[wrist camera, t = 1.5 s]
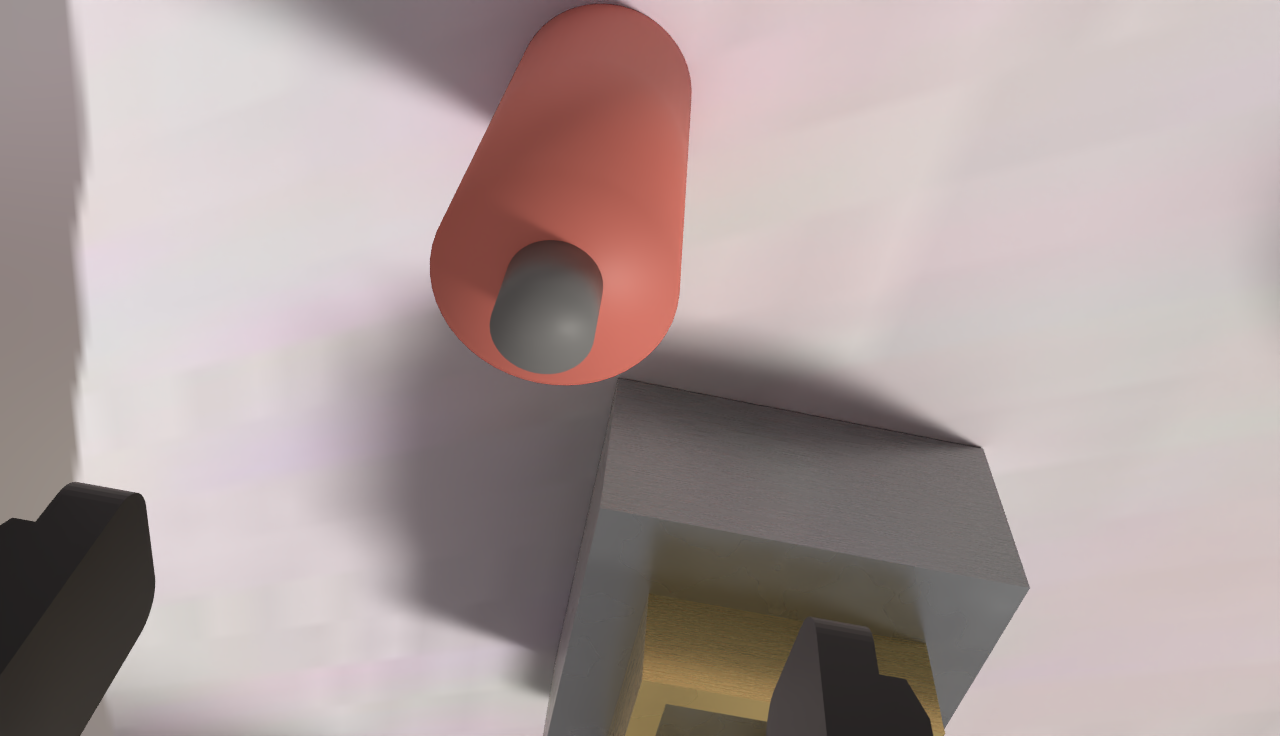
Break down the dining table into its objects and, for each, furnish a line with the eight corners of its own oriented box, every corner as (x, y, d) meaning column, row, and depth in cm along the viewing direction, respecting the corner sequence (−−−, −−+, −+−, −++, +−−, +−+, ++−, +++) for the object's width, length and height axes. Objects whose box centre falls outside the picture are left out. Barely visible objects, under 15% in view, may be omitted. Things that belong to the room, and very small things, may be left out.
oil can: (529, -14, 25) (416, 182, 16) (708, 24, 26) (704, 240, 16) (508, 155, 28) (400, 409, 18) (671, 188, 28) (648, 457, 19)
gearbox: (618, 377, 32) (588, 592, 25) (983, 448, 33) (1059, 677, 25) (545, 704, 42) (507, 929, 34) (827, 754, 42) (850, 984, 35)
